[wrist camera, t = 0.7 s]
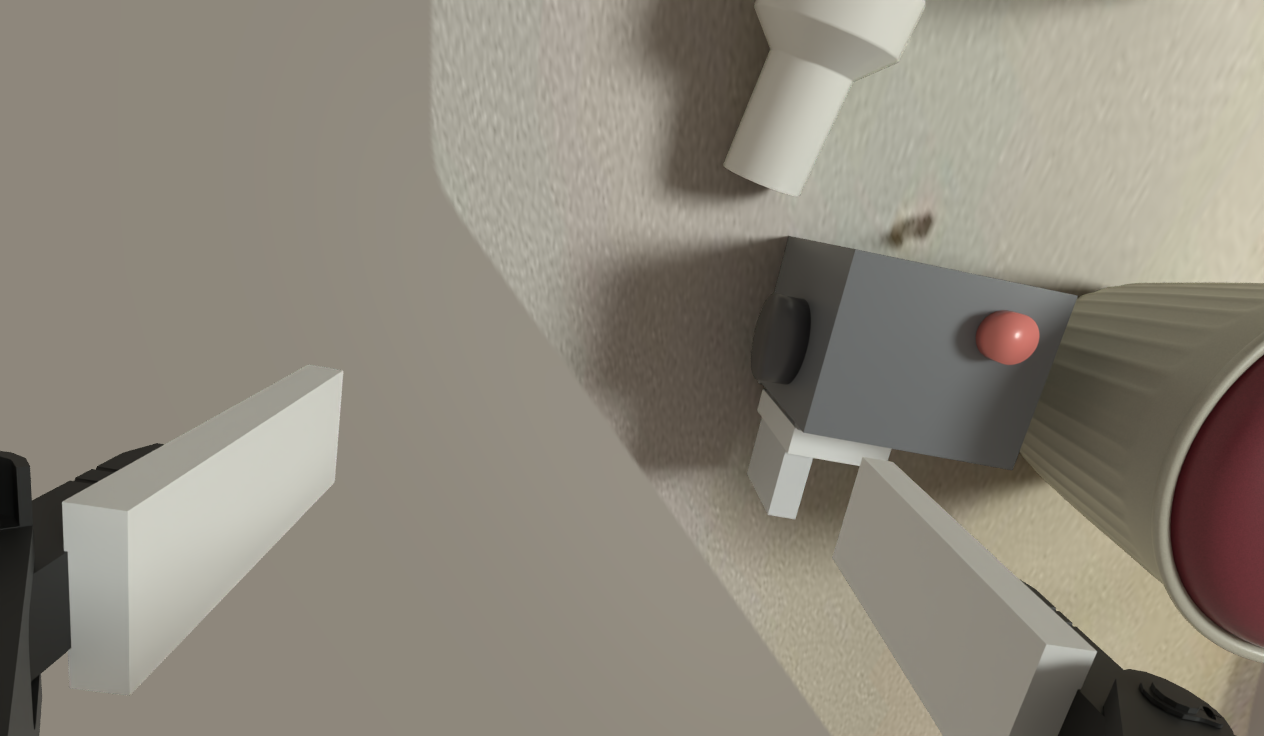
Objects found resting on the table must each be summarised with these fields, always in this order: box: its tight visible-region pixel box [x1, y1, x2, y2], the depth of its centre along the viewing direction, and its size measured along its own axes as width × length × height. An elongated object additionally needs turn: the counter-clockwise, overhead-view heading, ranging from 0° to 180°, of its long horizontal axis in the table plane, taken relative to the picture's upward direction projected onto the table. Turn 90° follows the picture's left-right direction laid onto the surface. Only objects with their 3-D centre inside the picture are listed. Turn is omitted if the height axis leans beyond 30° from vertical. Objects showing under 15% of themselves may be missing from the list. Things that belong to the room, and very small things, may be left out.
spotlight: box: [723, 0, 926, 197], centre depth 34 cm, size 8×11×8 cm
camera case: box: [751, 236, 1078, 470], centre depth 35 cm, size 9×13×12 cm
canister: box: [1020, 283, 1264, 663], centre depth 33 cm, size 18×18×21 cm
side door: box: [747, 389, 891, 519], centre depth 38 cm, size 5×6×7 cm
